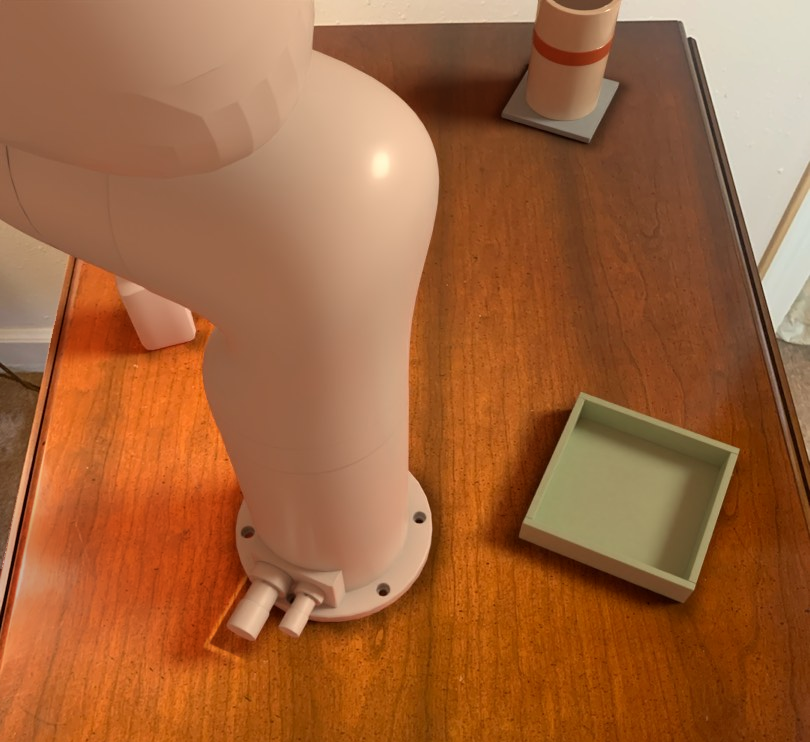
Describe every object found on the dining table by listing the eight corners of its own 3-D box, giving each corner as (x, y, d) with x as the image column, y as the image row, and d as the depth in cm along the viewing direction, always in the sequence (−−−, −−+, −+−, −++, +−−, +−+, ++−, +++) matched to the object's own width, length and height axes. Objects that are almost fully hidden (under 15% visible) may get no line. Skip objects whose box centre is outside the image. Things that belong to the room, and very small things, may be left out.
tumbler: (584, 130, 69) (608, 23, 61) (513, 108, 71) (527, 1, 62) (608, 84, 72) (634, -24, 64) (539, 64, 73) (556, -44, 65)
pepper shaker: (199, 342, 60) (165, 244, 52) (145, 355, 60) (101, 258, 51) (188, 302, 62) (153, 200, 53) (136, 314, 61) (92, 214, 53)
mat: (588, 143, 69) (589, 138, 69) (501, 117, 71) (501, 112, 70) (618, 87, 73) (619, 82, 72) (533, 63, 74) (534, 58, 74)
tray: (681, 605, 51) (693, 590, 49) (517, 539, 53) (522, 522, 51) (727, 467, 55) (740, 448, 53) (573, 411, 57) (580, 391, 55)
